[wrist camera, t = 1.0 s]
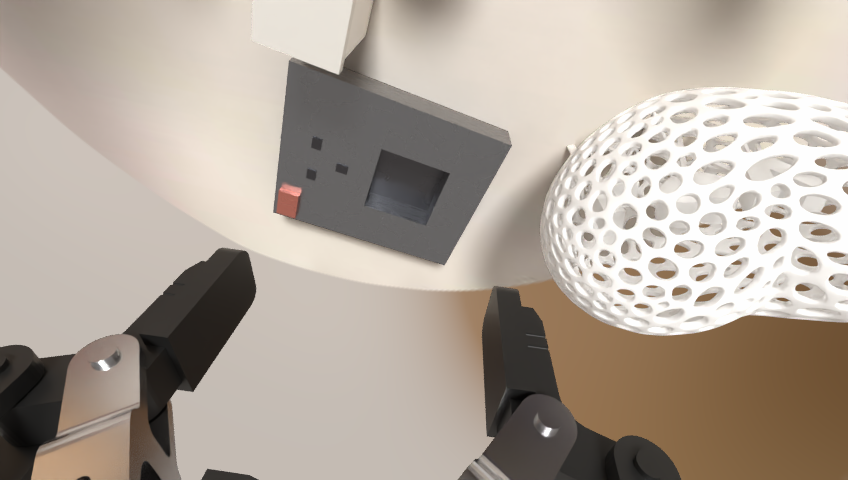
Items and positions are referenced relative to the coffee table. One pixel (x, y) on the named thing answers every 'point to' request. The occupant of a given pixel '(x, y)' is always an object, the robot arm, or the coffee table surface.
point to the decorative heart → (705, 211)
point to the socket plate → (381, 162)
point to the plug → (311, 28)
